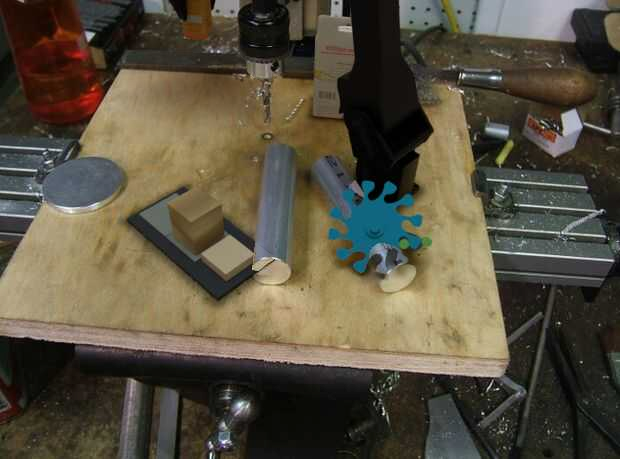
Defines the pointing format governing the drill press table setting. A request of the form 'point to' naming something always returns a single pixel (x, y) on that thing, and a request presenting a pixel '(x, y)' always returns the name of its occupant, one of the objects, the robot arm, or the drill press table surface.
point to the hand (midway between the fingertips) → (196, 15)
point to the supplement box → (198, 20)
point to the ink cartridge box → (331, 63)
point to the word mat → (209, 263)
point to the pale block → (196, 220)
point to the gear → (376, 224)
